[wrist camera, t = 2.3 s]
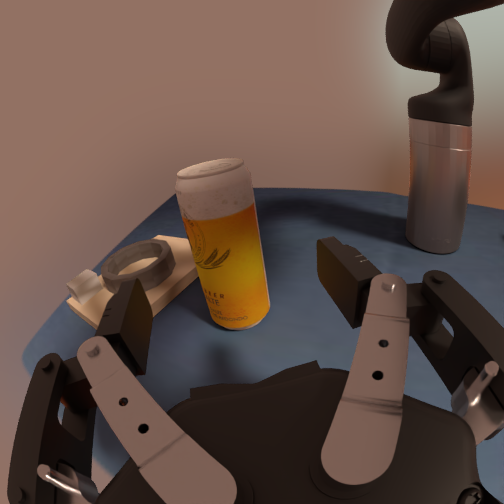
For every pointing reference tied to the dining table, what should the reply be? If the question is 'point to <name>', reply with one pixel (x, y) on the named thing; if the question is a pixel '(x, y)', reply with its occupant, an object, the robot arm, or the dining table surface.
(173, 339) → the dining table surface
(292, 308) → the dining table surface
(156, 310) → the board
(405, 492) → the robot arm
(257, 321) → the beer can
